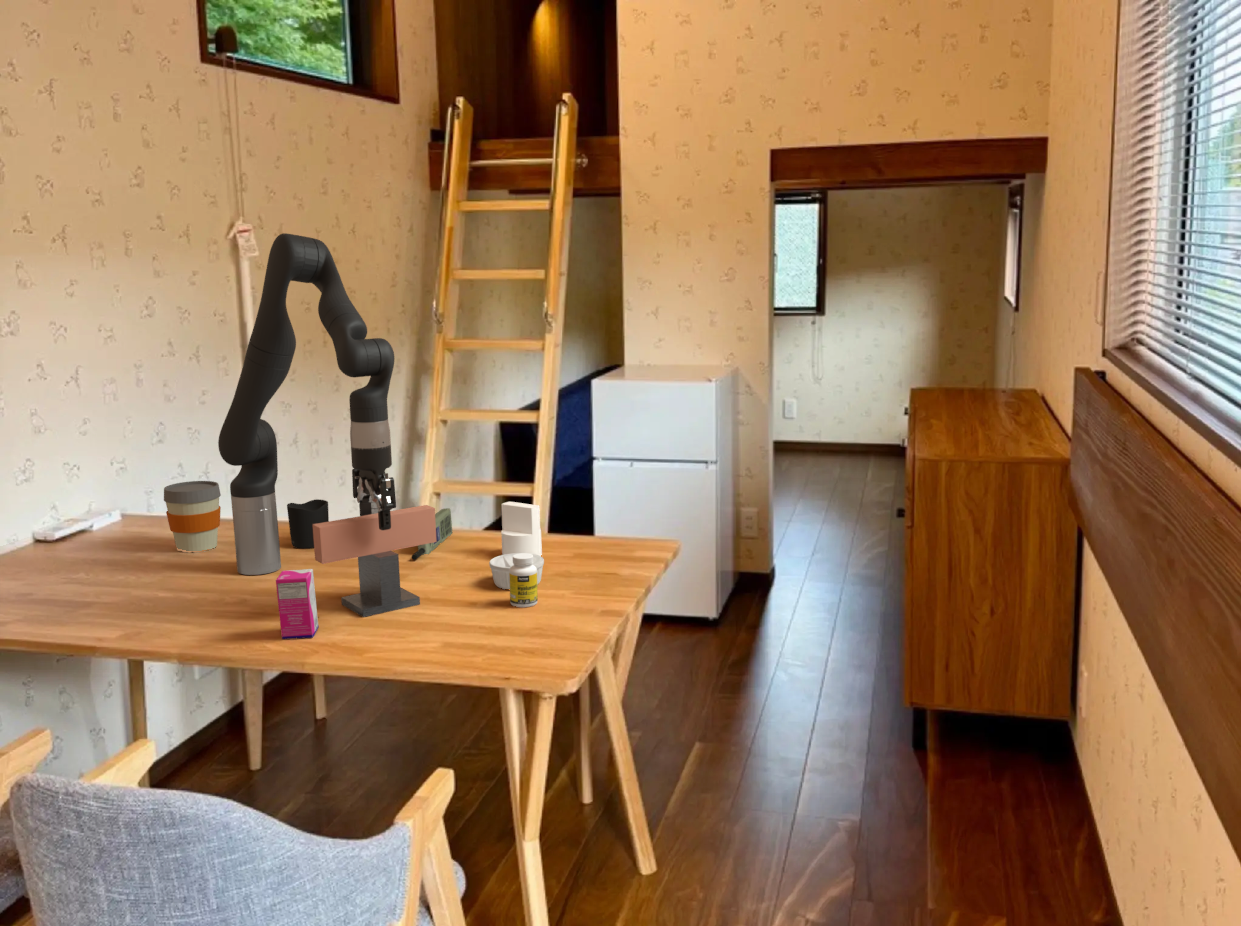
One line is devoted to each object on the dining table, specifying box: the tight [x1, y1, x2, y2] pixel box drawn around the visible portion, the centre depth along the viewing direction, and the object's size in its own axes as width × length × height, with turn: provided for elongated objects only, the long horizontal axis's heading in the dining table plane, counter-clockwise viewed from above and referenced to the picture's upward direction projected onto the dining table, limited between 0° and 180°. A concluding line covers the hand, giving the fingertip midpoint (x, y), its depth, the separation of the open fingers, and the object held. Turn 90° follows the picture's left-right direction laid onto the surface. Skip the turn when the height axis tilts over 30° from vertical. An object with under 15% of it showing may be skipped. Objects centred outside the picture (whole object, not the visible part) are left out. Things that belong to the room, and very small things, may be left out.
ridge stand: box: [340, 550, 421, 618], centre depth 216 cm, size 10×12×11 cm
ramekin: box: [488, 553, 545, 590], centre depth 229 cm, size 11×11×5 cm
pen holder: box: [286, 499, 330, 550], centre depth 262 cm, size 9×9×10 cm
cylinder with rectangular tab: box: [500, 501, 543, 556], centre depth 249 cm, size 9×9×12 cm
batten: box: [313, 504, 436, 565], centre depth 215 cm, size 4×24×7 cm, turn 127°
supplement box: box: [275, 568, 319, 640], centre depth 201 cm, size 6×6×12 cm
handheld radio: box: [411, 508, 453, 561], centre depth 258 cm, size 7×3×25 cm
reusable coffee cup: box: [163, 480, 222, 551], centre depth 260 cm, size 13×13×15 cm
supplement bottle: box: [509, 553, 538, 608], centre depth 216 cm, size 5×5×10 cm
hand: (375, 525), depth 214 cm, fingers open, 8 cm apart
